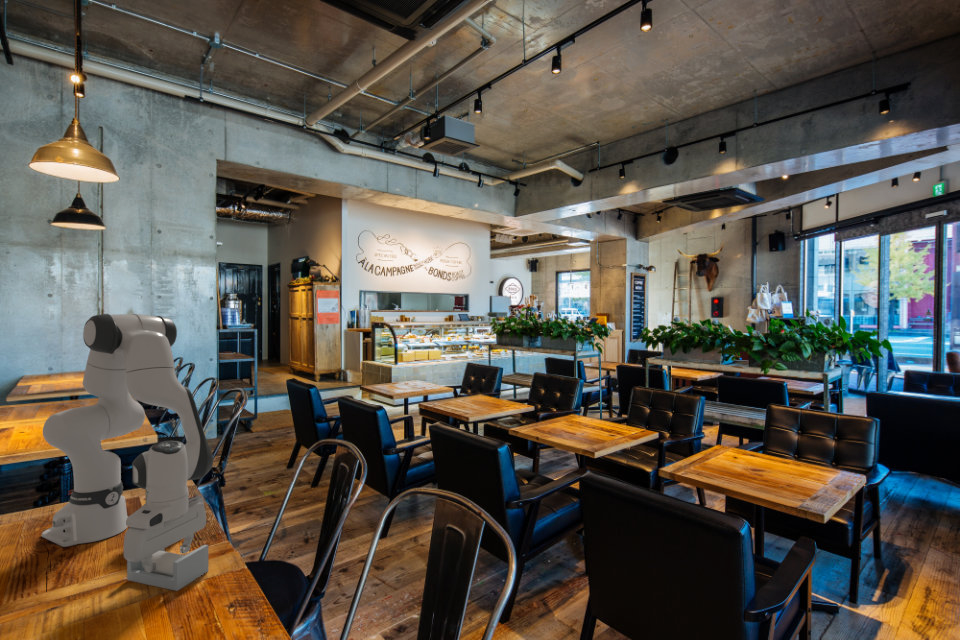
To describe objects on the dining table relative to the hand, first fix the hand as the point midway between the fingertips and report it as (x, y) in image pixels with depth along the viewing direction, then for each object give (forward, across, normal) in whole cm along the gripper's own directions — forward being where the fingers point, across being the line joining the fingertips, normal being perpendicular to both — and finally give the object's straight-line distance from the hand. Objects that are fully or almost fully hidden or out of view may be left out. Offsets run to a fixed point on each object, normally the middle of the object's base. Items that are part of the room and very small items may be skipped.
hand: (168, 561), depth 120 cm
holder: (+4, 0, 0) cm, 4 cm away
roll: (+3, 0, 0) cm, 3 cm away
